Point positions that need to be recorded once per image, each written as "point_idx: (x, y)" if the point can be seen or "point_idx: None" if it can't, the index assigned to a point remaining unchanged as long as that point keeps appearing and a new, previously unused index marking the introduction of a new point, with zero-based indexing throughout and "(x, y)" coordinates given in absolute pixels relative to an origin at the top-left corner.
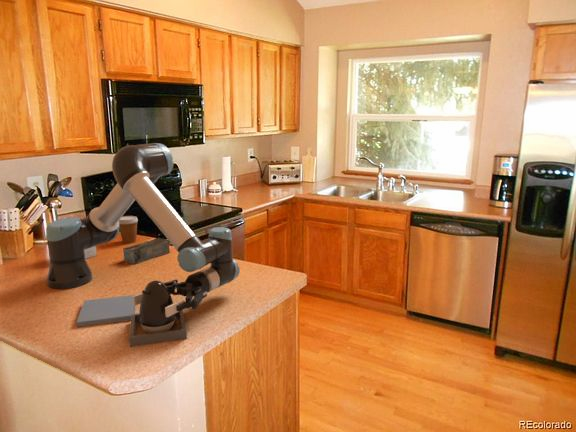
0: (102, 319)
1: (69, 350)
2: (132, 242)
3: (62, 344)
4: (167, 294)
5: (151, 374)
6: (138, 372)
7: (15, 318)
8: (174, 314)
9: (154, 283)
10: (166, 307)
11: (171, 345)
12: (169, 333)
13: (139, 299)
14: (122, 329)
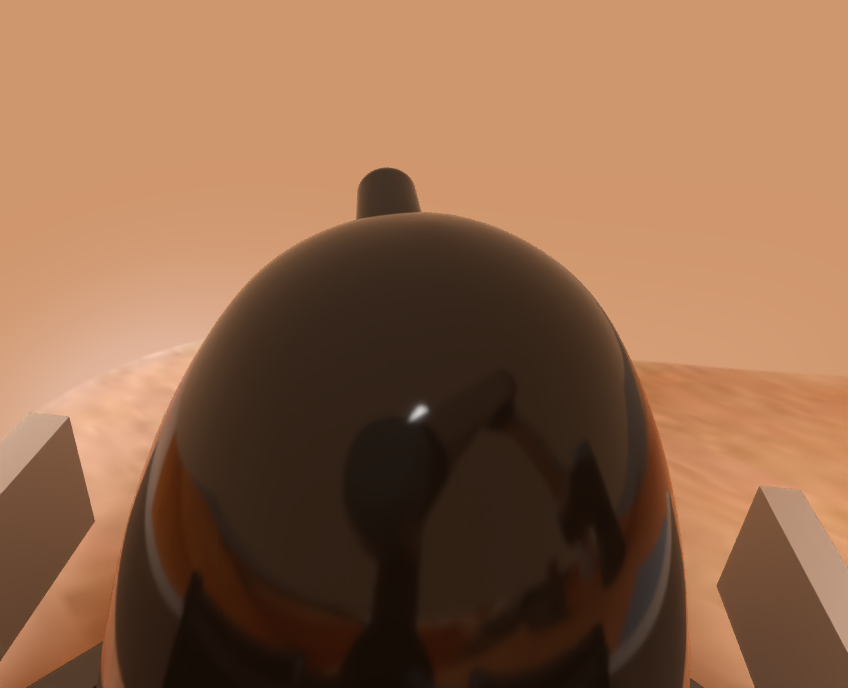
0: None
1: (664, 396)
2: None
3: (765, 414)
4: (129, 523)
5: (66, 392)
6: (152, 385)
7: None
8: None
9: (375, 218)
10: (47, 425)
11: (53, 656)
12: (87, 659)
13: (770, 617)
14: (714, 681)
